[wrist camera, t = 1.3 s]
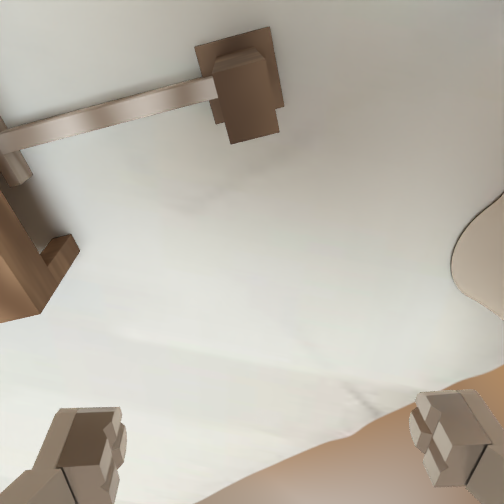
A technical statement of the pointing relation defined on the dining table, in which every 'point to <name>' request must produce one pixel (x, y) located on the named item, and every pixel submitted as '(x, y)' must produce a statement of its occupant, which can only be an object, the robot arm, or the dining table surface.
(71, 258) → the wooden footstool
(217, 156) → the dining table surface
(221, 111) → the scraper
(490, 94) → the dining table surface
